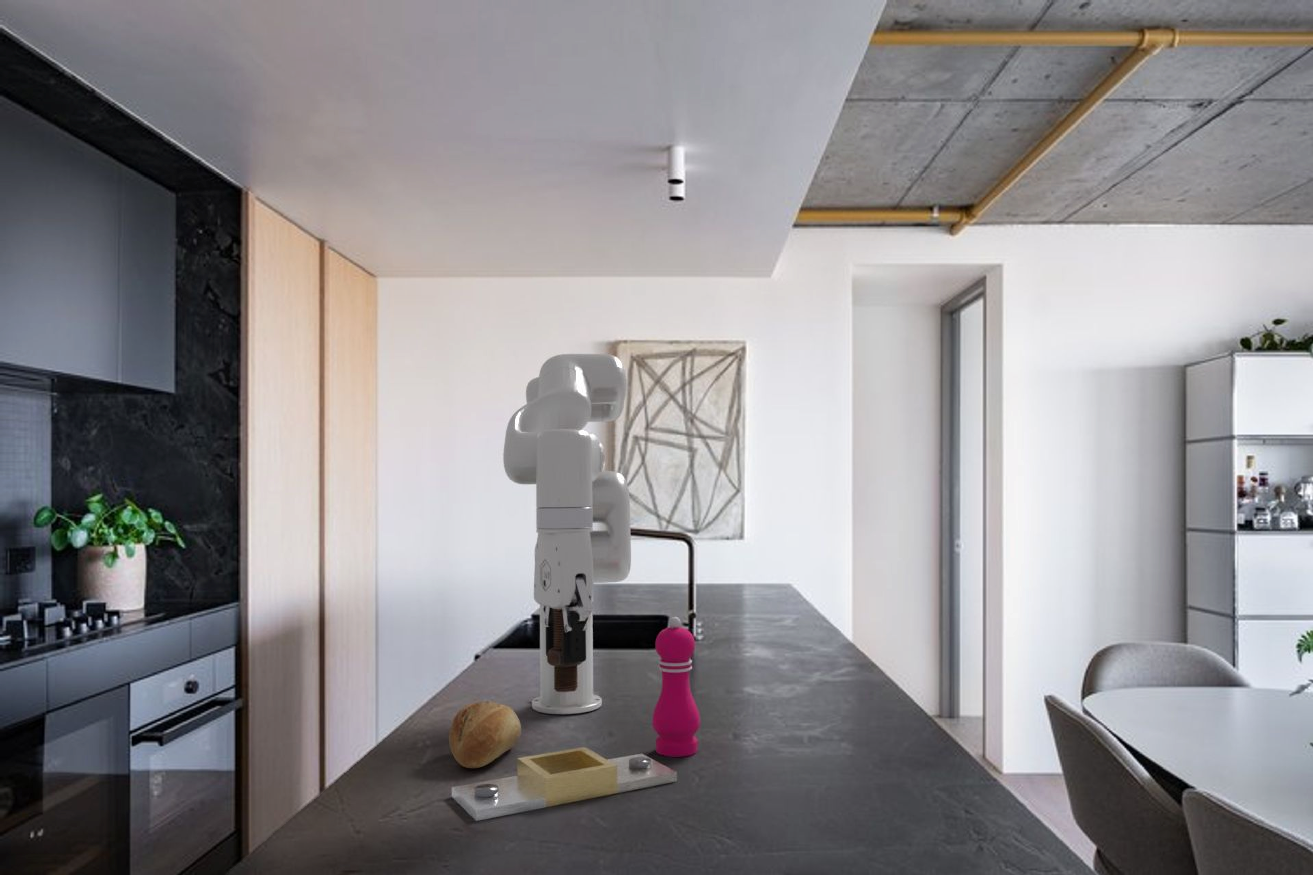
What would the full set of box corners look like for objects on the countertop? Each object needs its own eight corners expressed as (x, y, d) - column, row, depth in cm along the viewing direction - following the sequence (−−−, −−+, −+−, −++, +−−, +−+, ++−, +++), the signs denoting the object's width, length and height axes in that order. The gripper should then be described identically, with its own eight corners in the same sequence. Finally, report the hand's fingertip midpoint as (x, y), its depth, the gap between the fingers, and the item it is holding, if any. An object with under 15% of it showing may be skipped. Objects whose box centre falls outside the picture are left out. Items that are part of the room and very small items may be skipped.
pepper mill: (706, 746, 140) (704, 614, 141) (692, 760, 133) (690, 621, 134) (661, 742, 142) (659, 612, 143) (645, 755, 135) (644, 619, 136)
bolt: (577, 695, 118) (576, 578, 119) (540, 694, 119) (539, 578, 120) (590, 686, 124) (589, 574, 125) (554, 685, 125) (553, 574, 126)
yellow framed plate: (451, 796, 119) (451, 769, 119) (641, 761, 132) (641, 737, 133) (476, 820, 110) (476, 791, 110) (677, 781, 124) (676, 754, 124)
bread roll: (434, 773, 129) (434, 716, 129) (470, 743, 143) (470, 691, 144) (500, 775, 127) (499, 717, 128) (530, 745, 142) (529, 693, 142)
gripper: (515, 520, 128) (516, 652, 127) (564, 523, 114) (565, 672, 113) (565, 519, 132) (566, 647, 131) (618, 521, 117) (619, 666, 116)
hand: (565, 657), depth 122 cm, fingers closed on bolt, 4 cm apart
